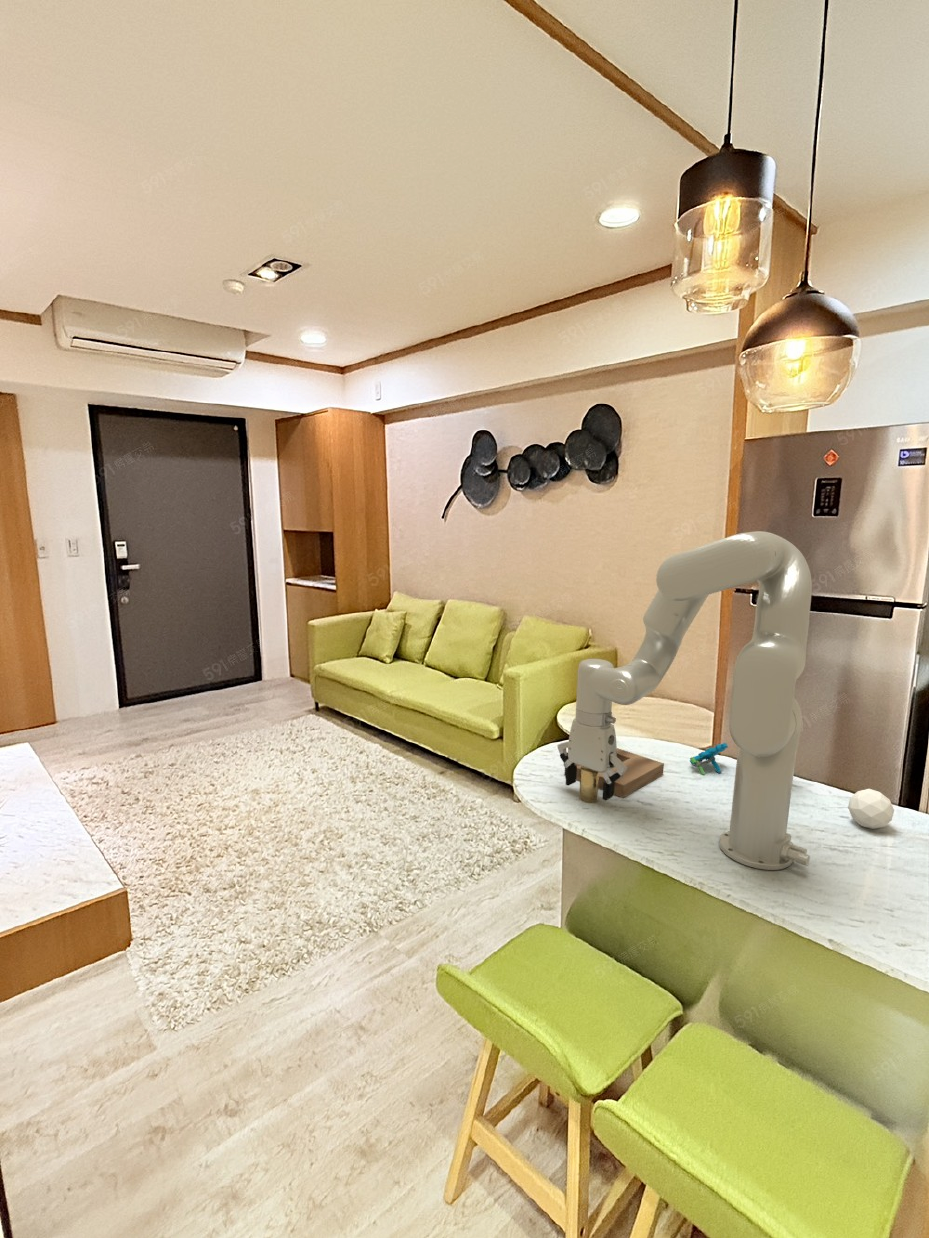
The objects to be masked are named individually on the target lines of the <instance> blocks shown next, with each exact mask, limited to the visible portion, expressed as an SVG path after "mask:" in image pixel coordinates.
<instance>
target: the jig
mask: <svg viewBox="0 0 929 1238" xmlns="http://www.w3.org/2000/svg"><path fill="white" fill-rule="evenodd" d="M617 757H618V758H619V759H620V760H621V761H622V762H623V763H624V764H625V765H626V766H627V770H626V771H625V773H624V774H623V776H622V777H621V778H619V779H618V780H616V781H615V789H614V795H613V796H617V797H620V798H621V799H624V798H626V797H627V796H630V795H631V794H632V793H634V792H636V791H637V790H640V789H642V787H645V786H647V785H648V784H650V783H651V782H654V781H655V780H657V779H658V778H660V777H662V776H663V775H664V769H665V768H664V767H665V766H664V765H665V763H664V762H660V761H658V760H654V759H651V758H648V757H645V756H643V755H639V754H637V753H633V752H631V751H628V750H624V749H621V748H618V747H617ZM575 765H577V776H576V781H578V782H580V775H581V767H582V766H581V765H578V764H575ZM613 770H614V772H615V773H616V772H617V767H616V766H615V767H614V768H613ZM607 772H608V771H607ZM608 774H609V773H608ZM564 776H566V768H565V767H564ZM609 776H610V775H609ZM604 782H606V781H605V779H604V777H603V775H602V773H601V772H599V786H598V790H601V791H603V783H604Z"/></svg>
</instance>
